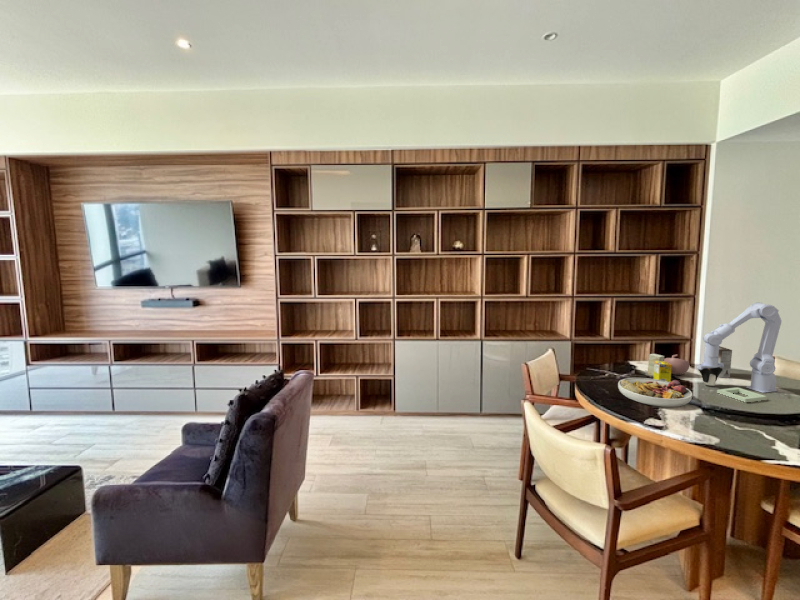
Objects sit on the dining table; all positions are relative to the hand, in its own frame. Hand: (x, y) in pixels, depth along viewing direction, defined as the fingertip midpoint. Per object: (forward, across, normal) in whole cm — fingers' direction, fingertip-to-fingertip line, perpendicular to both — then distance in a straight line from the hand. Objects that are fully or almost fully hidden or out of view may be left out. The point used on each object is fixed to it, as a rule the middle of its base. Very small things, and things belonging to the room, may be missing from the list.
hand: (709, 381), depth 194 cm
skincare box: (+2, +12, -21) cm, 24 cm away
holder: (+2, +1, +16) cm, 16 cm away
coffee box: (+3, -21, -12) cm, 24 cm away
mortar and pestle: (+3, -1, -20) cm, 20 cm away
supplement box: (+2, +18, -11) cm, 21 cm away
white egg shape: (+1, 0, 0) cm, 1 cm away
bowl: (+3, +40, +5) cm, 41 cm away
